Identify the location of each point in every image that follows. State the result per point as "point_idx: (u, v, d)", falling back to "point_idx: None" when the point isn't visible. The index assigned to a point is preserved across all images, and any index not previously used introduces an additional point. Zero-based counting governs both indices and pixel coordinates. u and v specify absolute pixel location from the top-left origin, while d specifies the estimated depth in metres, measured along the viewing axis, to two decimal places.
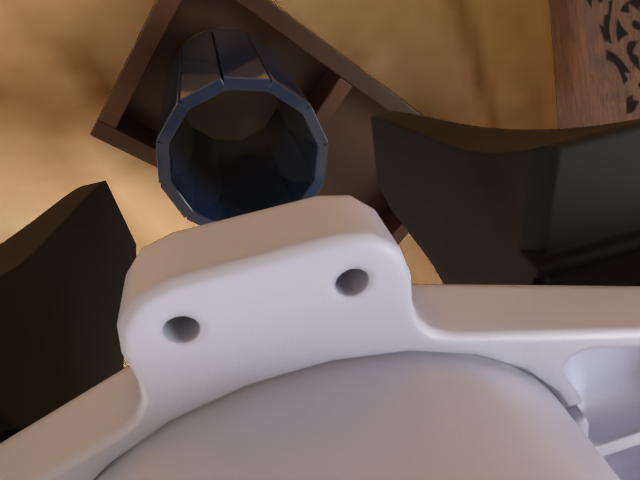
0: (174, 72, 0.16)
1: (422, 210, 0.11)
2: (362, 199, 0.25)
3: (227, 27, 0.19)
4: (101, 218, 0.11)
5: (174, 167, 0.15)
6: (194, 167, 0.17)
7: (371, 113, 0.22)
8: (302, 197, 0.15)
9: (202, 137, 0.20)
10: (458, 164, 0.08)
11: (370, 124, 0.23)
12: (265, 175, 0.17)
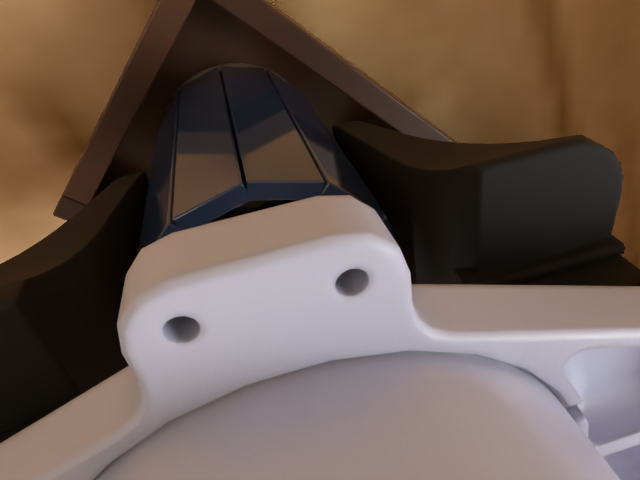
0: (167, 138, 0.11)
1: None
2: None
3: (241, 63, 0.14)
4: (143, 207, 0.11)
5: None
6: None
7: None
8: None
9: None
10: (402, 178, 0.08)
11: None
12: None
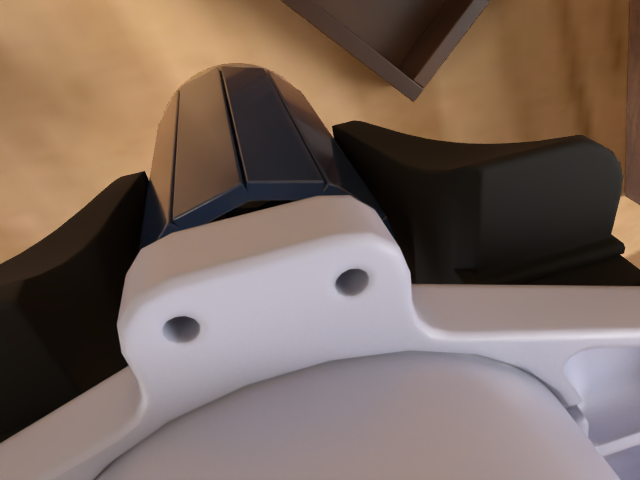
0: (167, 138, 0.11)
1: None
2: (399, 12, 0.21)
3: (241, 63, 0.14)
4: (143, 207, 0.11)
5: None
6: None
7: None
8: None
9: None
10: (402, 178, 0.08)
11: None
12: None
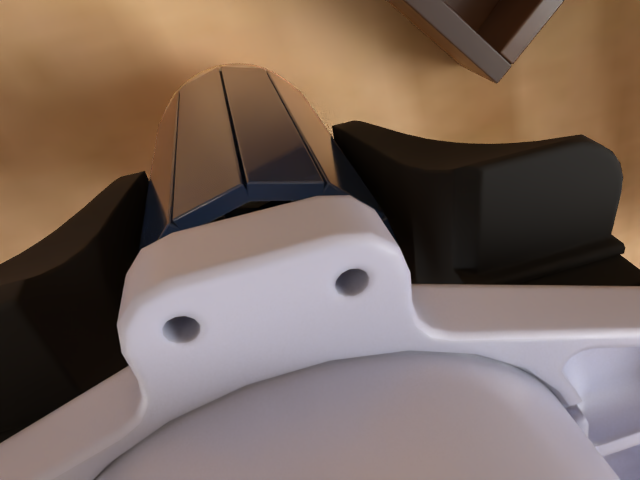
0: (167, 139, 0.11)
1: None
2: None
3: (241, 64, 0.14)
4: (143, 207, 0.11)
5: None
6: None
7: None
8: None
9: None
10: (402, 178, 0.08)
11: None
12: None
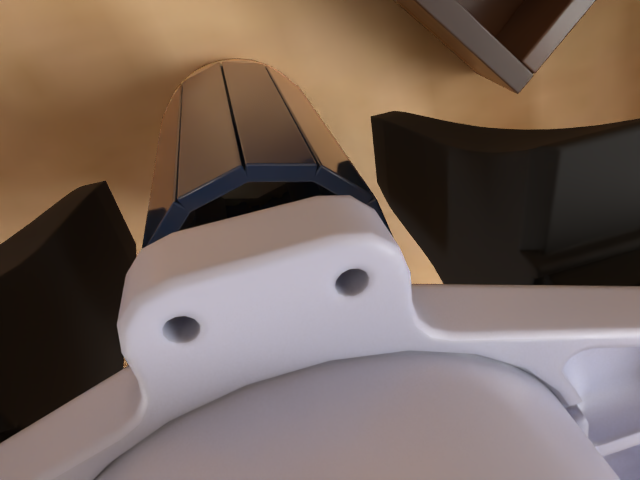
0: (171, 129, 0.12)
1: (422, 210, 0.11)
2: None
3: (241, 59, 0.14)
4: (101, 218, 0.11)
5: None
6: None
7: None
8: None
9: None
10: (459, 164, 0.08)
11: None
12: None
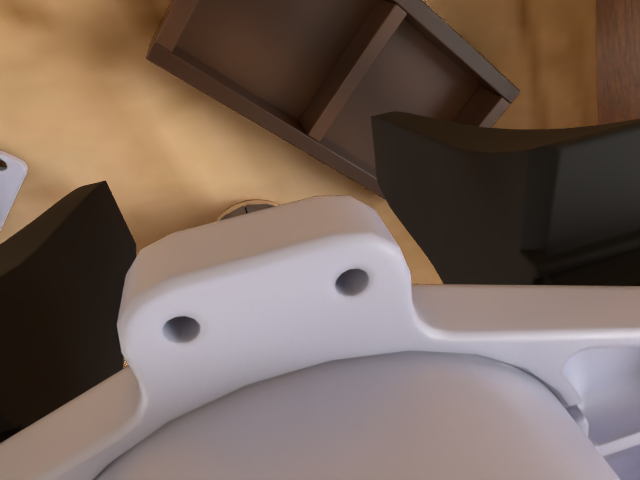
0: None
1: (422, 210, 0.11)
2: None
3: (256, 200, 0.25)
4: (101, 218, 0.11)
5: None
6: None
7: (418, 50, 0.22)
8: None
9: None
10: (459, 164, 0.08)
11: (416, 62, 0.22)
12: None
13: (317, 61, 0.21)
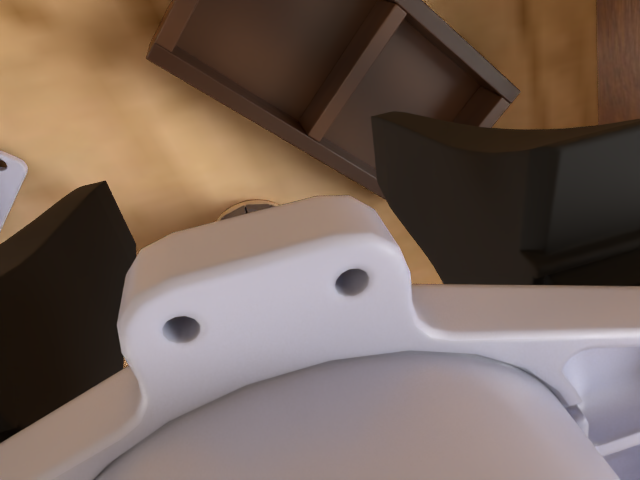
0: None
1: (422, 210, 0.11)
2: None
3: (256, 200, 0.25)
4: (101, 218, 0.11)
5: None
6: None
7: (418, 50, 0.22)
8: None
9: None
10: (459, 164, 0.08)
11: (416, 62, 0.22)
12: None
13: (317, 61, 0.21)
